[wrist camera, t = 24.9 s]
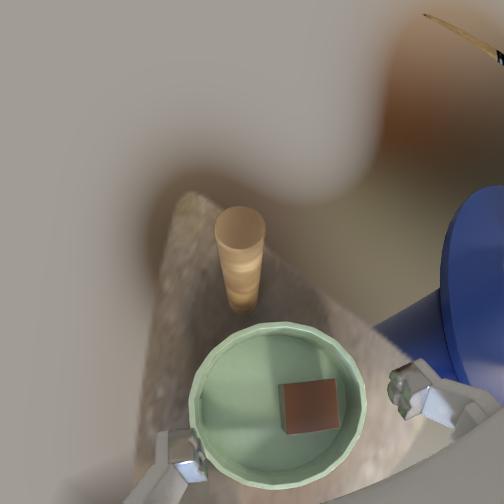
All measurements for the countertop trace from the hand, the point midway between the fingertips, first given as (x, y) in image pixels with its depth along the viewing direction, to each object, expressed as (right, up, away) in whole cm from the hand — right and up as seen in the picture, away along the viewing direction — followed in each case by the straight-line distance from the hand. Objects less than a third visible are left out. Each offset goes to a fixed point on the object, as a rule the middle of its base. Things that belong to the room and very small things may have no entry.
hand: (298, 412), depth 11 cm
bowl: (0, -7, +14) cm, 15 cm away
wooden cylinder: (-3, +2, +18) cm, 18 cm away
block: (+3, -7, +13) cm, 15 cm away
